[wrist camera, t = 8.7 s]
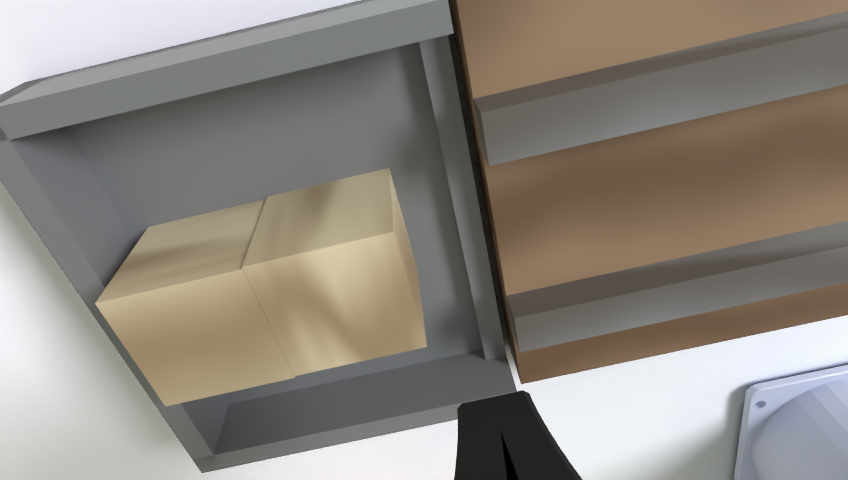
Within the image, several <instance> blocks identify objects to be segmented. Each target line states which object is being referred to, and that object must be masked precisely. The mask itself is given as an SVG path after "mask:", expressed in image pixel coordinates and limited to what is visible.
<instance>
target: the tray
mask: <svg viewBox="0 0 848 480" xmlns="http://www.w3.org/2000/svg"><path fill="white" fill-rule="evenodd" d="M453 33H454V31H453V26H452V20H451V14H450V9H449V3H448V0H361V1H356V2H352V3H348V4H344V5H340V6H336V7H332V8H328V9H324V10H320V11H316V12H311V13H307V14H303V15H299V16H295V17H291V18H287V19H283V20H279V21H275V22H271V23H266V24H262V25H258V26H254V27H250V28H246V29H242V30H238V31H234V32H230V33H226V34H221V35H217V36H213V37H209V38H205V39H201V40H197V41H193V42H189V43H185V44H180V45H176V46H172V47H168V48H164V49H160V50H156V51H152V52H148V53H144V54H140V55H135V56H131V57H127V58H123V59H119V60H115V61H111V62H107V63H103V64H99V65H95V66H90V67H86V68H82V69H78V70H74V71H70V72H66V73H62V74H58V75H54V76H50V77H45V78H41V79H37V80H33V81H29V82H25V83H23V84H21V85H19V86H17V87H15V88H13V89H11V90H9V91H7V92H5V93H3V94H1V95H0V180H1V181H2V183H3V184H4V186H5V187H6V188H7V190H8V191H9V193H10V194H11V196H12V197H13V199H14V200H15V202H16V203H17V204H18V206H19V207H20V209H21V210H22V212H23V213H24V215H25V216H26V218H27V219H28V221H29V222H30V223H31V225H32V226H33V228H34V229H35V231H36V232H37V234H38V235H39V237H40V238H41V239H42V241H43V242H44V244H45V245H46V247H47V248H48V250H49V251H50V253H51V254H52V255H53V257H54V258H55V260H56V261H57V263H58V264H59V266H60V267H61V269H62V270H63V271H64V273H65V274H66V276H67V277H68V279H69V280H70V282H71V283H72V285H73V286H74V288H75V289H76V290H77V292H78V293H79V295H80V296H81V298H82V299H83V301H84V302H85V304H86V305H87V306H88V308H89V309H90V311H91V312H92V314H93V315H94V317H95V318H96V320H97V321H98V322H99V324H100V325H101V327H102V328H103V330H104V331H105V333H106V334H107V336H108V337H109V339H110V340H111V341H112V343H113V344H114V346H115V347H116V349H117V350H118V352H119V353H120V355H121V356H122V357H123V359H124V360H125V362H126V363H127V365H128V366H129V368H130V369H131V371H132V372H133V373H134V375H135V376H136V378H137V379H138V381H139V382H140V384H141V385H142V387H143V388H144V390H145V391H146V392H147V394H148V395H149V397H150V398H151V400H152V401H153V403H154V404H155V406H156V407H157V408H158V410H159V411H160V413H161V414H162V416H163V417H164V419H165V420H166V422H167V423H168V424H169V426H170V427H171V429H172V430H173V432H174V433H175V435H176V436H177V438H178V439H179V440H180V442H181V443H182V445H183V446H184V448H185V449H186V451H187V452H188V454H189V455H190V457H191V458H192V459H193V461H194V462H195V464H196V465H197V467H198V468H199V470H200V471H201V473H205V472H209V471H214V470H219V469H224V468H228V467H233V466H238V465H243V464H247V463H252V462H257V461H262V460H266V459H271V458H276V457H281V456H285V455H290V454H295V453H300V452H304V451H309V450H314V449H319V448H323V447H328V446H333V445H338V444H342V443H347V442H352V441H357V440H361V439H366V438H371V437H376V436H381V435H385V434H390V433H395V432H400V431H404V430H409V429H414V428H419V427H423V426H428V425H433V424H438V423H442V422H447V421H452V420H457V419H458V414H457V408H458V407H459V406H460V405H461V404H462V403H466V402H471V401H475V400H480V399H485V398H490V397H494V396H499V395H504V394H509V393H513V392H517V390H516V387H515V383H514V380H513V377H512V373H511V370H510V367H509V363H508V360H507V356H506V351H505V346H504V340H503V335H502V329H501V324H500V318H499V313H498V307H497V302H496V296H495V291H494V285H493V280H492V274H491V269H490V263H489V258H488V252H487V247H486V241H485V236H484V230H483V225H482V219H481V214H480V208H479V203H478V197H477V192H476V186H475V181H474V175H473V170H472V164H471V159H470V153H469V148H468V142H467V137H466V131H465V126H464V120H463V115H462V109H461V104H460V98H459V93H458V87H457V82H456V76H455V71H454V65H453V60H452V54H451V49H450V43H449V38H448V35H449V34H453ZM386 168H390V172H391V176H392V179H393V183H394V186H395V190H396V194H397V197H398V201H399V205H400V208H401V212H402V215H403V219H404V223H405V226H406V230H407V233H408V237H409V241H410V244H411V248H412V251H413V255H414V259H415V262H416V266H417V269H418V277H419V286H420V294H421V302H422V310H423V318H424V326H425V334H426V342H427V347H424V348H419V349H415V350H410V351H406V352H401V353H397V354H392V355H388V356H383V357H379V358H374V359H370V360H365V361H361V362H356V363H352V364H347V365H343V366H338V367H334V368H329V369H325V370H320V371H316V372H311V373H307V374H302V375H298V376H295V378H292V379H287V380H283V381H278V382H274V383H269V384H265V385H260V386H256V387H251V388H247V389H242V390H238V391H233V392H229V393H224V394H220V395H215V396H211V397H206V398H202V399H197V400H193V401H188V402H184V403H179V404H175V405H170V406H166V407H165V405H164V404H163V402H162V401H161V399H160V398H159V396H158V395H157V393H156V392H155V390H154V389H153V388H152V386H151V385H150V383H149V382H148V380H147V379H146V377H145V376H144V374H143V373H142V372H141V370H140V369H139V367H138V366H137V364H136V363H135V361H134V360H133V358H132V357H131V355H130V354H129V353H128V351H127V350H126V348H125V347H124V345H123V344H122V342H121V341H120V339H119V338H118V336H117V335H116V334H115V332H114V331H113V329H112V328H111V326H110V325H109V323H108V322H107V320H106V319H105V318H104V316H103V315H102V313H101V312H100V310H99V309H98V307H97V306H96V304H95V303H96V301H97V300H98V298H99V297H100V295H101V294H102V293H103V291H104V290H105V288H106V287H107V285H108V284H109V283H110V281H111V280H112V278H113V277H114V275H115V274H116V272H117V271H118V270H119V268H120V267H121V265H122V264H123V262H124V261H125V260H126V258H127V257H128V255H129V254H130V252H131V251H132V250H133V248H134V247H135V245H136V244H137V242H138V241H139V240H140V238H141V237H142V235H143V234H144V232H145V231H146V229H147V228H148V227H151V226H155V225H159V224H163V223H168V222H172V221H176V220H180V219H184V218H189V217H193V216H197V215H201V214H205V213H210V212H214V211H218V210H222V209H226V208H231V207H235V206H239V205H243V204H247V203H252V202H256V201H260V200H264V199H267V197H269V196H273V195H277V194H281V193H286V192H290V191H294V190H298V189H302V188H307V187H311V186H315V185H319V184H323V183H328V182H332V181H336V180H340V179H344V178H349V177H353V176H357V175H361V174H365V173H370V172H374V171H378V170H382V169H386Z"/></svg>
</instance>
